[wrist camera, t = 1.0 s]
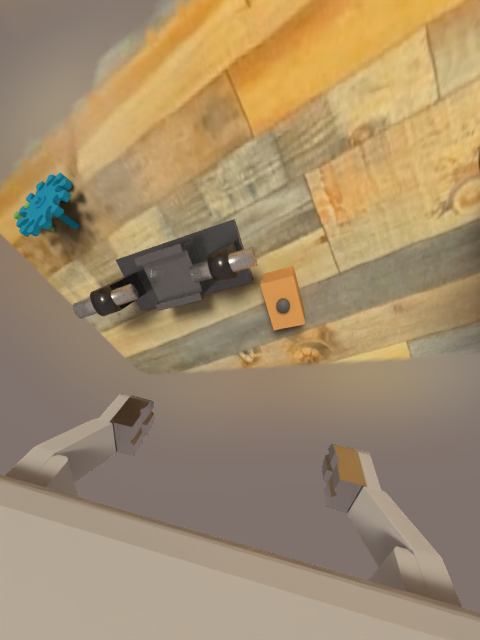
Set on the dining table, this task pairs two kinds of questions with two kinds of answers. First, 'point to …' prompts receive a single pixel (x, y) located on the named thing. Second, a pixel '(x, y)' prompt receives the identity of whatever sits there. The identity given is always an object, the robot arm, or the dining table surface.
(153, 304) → the shaft stand
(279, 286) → the block
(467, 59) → the dining table surface
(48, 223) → the gear
